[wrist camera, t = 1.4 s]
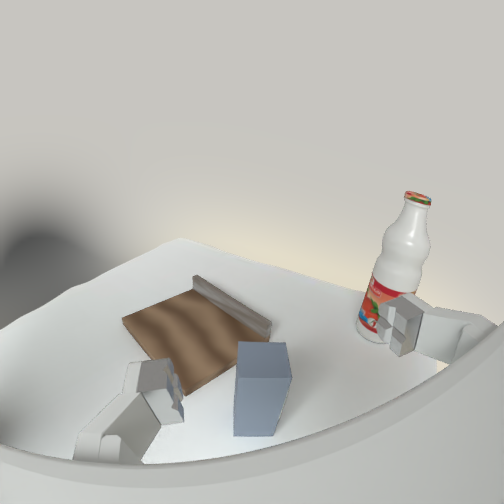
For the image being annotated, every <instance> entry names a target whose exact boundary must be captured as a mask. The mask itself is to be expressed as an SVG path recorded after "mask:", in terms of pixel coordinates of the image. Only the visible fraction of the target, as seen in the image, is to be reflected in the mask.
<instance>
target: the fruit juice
mask: <svg viewBox="0 0 504 504" xmlns="http://www.w3.org/2000/svg"><path fill="white" fill-rule="evenodd" d="M404 200H405V205H404V208H403V210H402V212H401V214H400V216H399V217H398V219H397V220H396V221H395V222H394V223H393V224H392V225H391V226H389V227H388V228H387V230H386V231H385V233H384V236H383V240H382V253H381V254H380V256H379V257H378V258H377V261H376V263H375V266H374V269H373V272H372V276H371V279H370V282H369V285H368V288H367V292H366V295H365V298H364V301H363V303H362V306H361V309H360V312H359V315H358V318H357V322H356V326H357V330H358V331H359V333H360V334H361V335H362V336H363V337H364V338H366V339H368V340H370V341H372V342H375V343H384V342H383V341H382V340H381V339H380V338H379V336H378V333H377V329H376V327H377V321H378V319H379V318H380V315H379V313H378V309H379V306H380V304H381V303H384V302H386V301H389V300H392V299H394V298H397V297H399V296H401V295H403V294H406V293H412V294H414V295H415V293H416V291H417V288H418V286H419V283H420V280H421V276H422V265H423V263H424V262H425V260H426V259H427V257H428V255H429V251H430V240H429V237H428V234H427V228H426V217H427V210H428V209H429V208H430V205H431V199H430V198H429V197H427V196H424V195H422V194H418V193H415V192H411V191H406V193H405V196H404Z"/></svg>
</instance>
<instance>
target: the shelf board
mask: <svg viewBox="0 0 504 504" xmlns="http://www.w3.org/2000/svg"><path fill="white" fill-rule="evenodd" d="M122 321H123V325H124V326H125V327H126V328H127V330H128V331H129V332H130V334H131V335H132V336H133V337H134V339H135V340H136V341H137V342H138V344H139V345H140V346H141V347H142V349H143V350H144V351H145V352H146V353H147V355H148V356H149V357H150V358H151V359H152V360H155V359H163V358H170V359H171V361H172V363H173V365H174V373H175V374H177V375H178V377H179V380H180V383H181V387H182V392H183V394H184V395H185V396H187V395H189V394H190V393H192V392H194V391H195V390H197V389H199V388H200V387H202V386H203V385H205V384H207V383H208V382H210V381H211V380H213V379H214V378H216V377H218V376H219V375H221V374H222V373H224V372H225V371H227V370H228V369H230V368H231V367H233V366H234V365H236V364H237V354H238V341H242V342H269V337H270V331H271V325H272V322H271V321H269V320H268V319H266V318H264V317H263V316H261V315H259V314H258V313H256V312H254V311H253V310H251V309H250V308H248V307H246V306H245V305H243V304H242V303H240V302H238V301H237V300H235V299H234V298H232V297H231V296H229V295H227V294H226V293H224V292H223V291H221V290H220V289H218V288H217V287H215V286H214V285H212V284H210V283H209V282H207V281H206V280H204V279H203V278H201V277H200V276H198V275H195V276H193V289H191V290H189V291H187V292H184V293H182V294H179V295H177V296H174V297H172V298H170V299H167V300H165V301H162V302H160V303H157V304H155V305H152V306H150V307H148V308H145V309H143V310H140V311H138V312H135V313H133V314H130V315H128V316H125V317H123V318H122Z"/></svg>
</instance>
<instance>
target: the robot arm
mask: <svg viewBox="0 0 504 504" xmlns="http://www.w3.org/2000/svg"><path fill="white" fill-rule="evenodd" d="M378 313H379V315H380V318H379V319H378V321H377V327H376V329H377V333H378V336H379V338H380V339H381V340H382V341H383V342H384V343H388V344H390V349H391V350H392V351H393V352H394V353H395V354H396V355H397V356H398V357H401V356H403V355H405V354H407V353H409V352H411V351H413V350H415V351H416V352H418V353H421V354H424V355H426V356H429V357H431V358H434V359H437V360H439V361H442V362H445V363H447V364H450V365H449V366H448V367H446V368H444V369H443V370H442V371H440V372H438V373H437V374H435V375H434V376H432V377H431V378H429V379H428V380H426V381H424V382H423V383H421V384H419V385H418V386H416V387H414V388H413V389H411V390H409V391H407V392H406V393H404V394H402V395H400V396H398V397H397V398H395V399H393V400H391V401H389V402H387V403H385V404H383V405H381V406H379V407H377V408H375V409H373V410H371V411H369V412H366V413H364V414H362V415H360V416H358V417H355V418H353V419H351V420H348V421H346V422H343V423H341V424H338V425H336V426H333V427H331V428H328V429H325V430H323V431H320V432H317V433H314V434H311V435H308V436H305V437H302V438H299V439H296V440H293V441H289V442H286V443H282V444H279V445H275V446H271V447H267V448H263V449H259V450H255V451H250V452H246V453H241V454H236V455H231V456H225V457H219V458H212V459H205V460H197V461H188V462H178V463H163V464H144V463H143V462H142V461H141V459H142V457H143V455H144V454H145V452H146V451H147V449H148V448H149V446H150V444H151V443H152V441H153V440H154V438H155V436H156V435H157V433H158V431H159V430H160V428H161V425H168V424H176V423H182V422H184V410H183V406H182V404H181V401H182V400H183V392H182V387H181V383H180V380H179V377H178V375H177V374H175V373H174V365H173V363H172V361H171V359H170V358H163V359H155V360H147V361H139V362H131V363H129V365H128V368H127V373H126V377H125V382H124V387H123V392H122V394H118V395H117V396H116V397H115V398H114V399H113V400H112V401H111V402H110V403H109V404H108V405H107V406H106V407H105V408H104V409H103V410H102V411H101V412H100V413H99V414H98V415H97V416H96V417H95V418H94V419H93V420H92V421H91V422H90V423H89V424H87V425H86V426H85V427H84V428H83V429H82V430H81V431H80V432H79V434H78V438H77V442H76V447H75V451H74V456H73V460H69V459H62V458H56V457H50V456H45V455H40V454H36V453H31V452H27V451H23V450H19V449H16V448H13V447H9V446H6V445H3V444H0V504H504V322H503V323H502V324H500V325H499V326H497V325H495V324H494V323H492V322H491V321H489V320H488V319H486V318H485V317H483V316H482V315H479V314H473V313H467V312H462V311H455V310H450V309H445V308H439V307H435V308H433V307H432V306H430V305H429V304H427V303H426V302H424V301H423V300H421V299H419V298H418V297H417V296H415V295H414V294H412V293H406V294H403V295H401V296H399V297H397V298H394V299H392V300H389V301H386V302H384V303H381V304H380V306H379V309H378Z"/></svg>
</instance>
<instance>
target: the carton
mask: <svg viewBox="0 0 504 504" xmlns="http://www.w3.org/2000/svg"><path fill="white" fill-rule="evenodd" d="M291 380H292V375H291V370H290V364H289V359H288V354H287V348H286V343H279V342H242V341H238V354H237V368H236V381H235V395H234V436H273V434H274V431H275V428H276V426H277V423H278V420H279V419H280V416H281V413H282V410H283V407H284V404H285V401H286V398H287V395H288V392H289V386H290V383H291Z"/></svg>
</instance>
